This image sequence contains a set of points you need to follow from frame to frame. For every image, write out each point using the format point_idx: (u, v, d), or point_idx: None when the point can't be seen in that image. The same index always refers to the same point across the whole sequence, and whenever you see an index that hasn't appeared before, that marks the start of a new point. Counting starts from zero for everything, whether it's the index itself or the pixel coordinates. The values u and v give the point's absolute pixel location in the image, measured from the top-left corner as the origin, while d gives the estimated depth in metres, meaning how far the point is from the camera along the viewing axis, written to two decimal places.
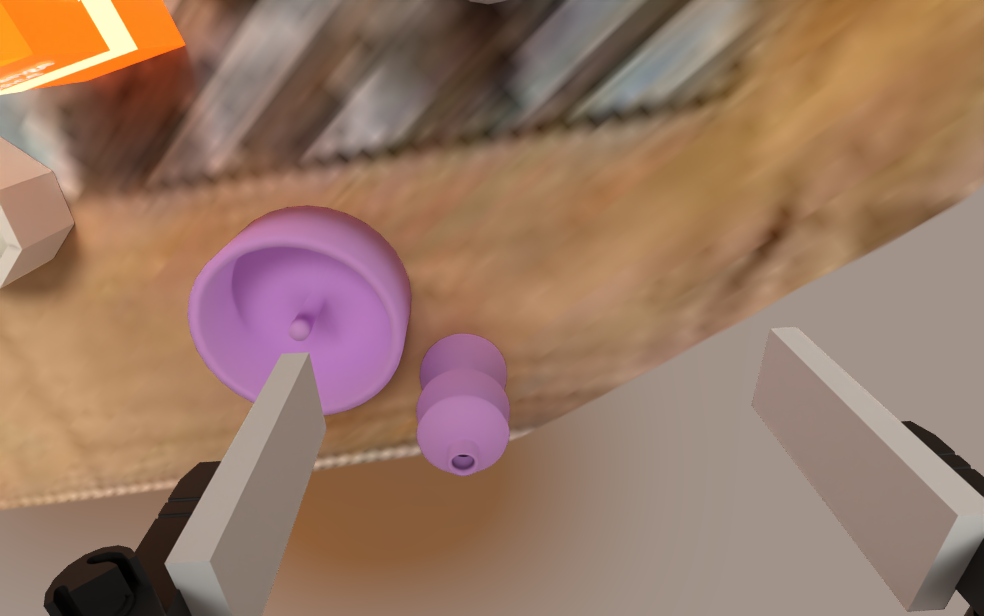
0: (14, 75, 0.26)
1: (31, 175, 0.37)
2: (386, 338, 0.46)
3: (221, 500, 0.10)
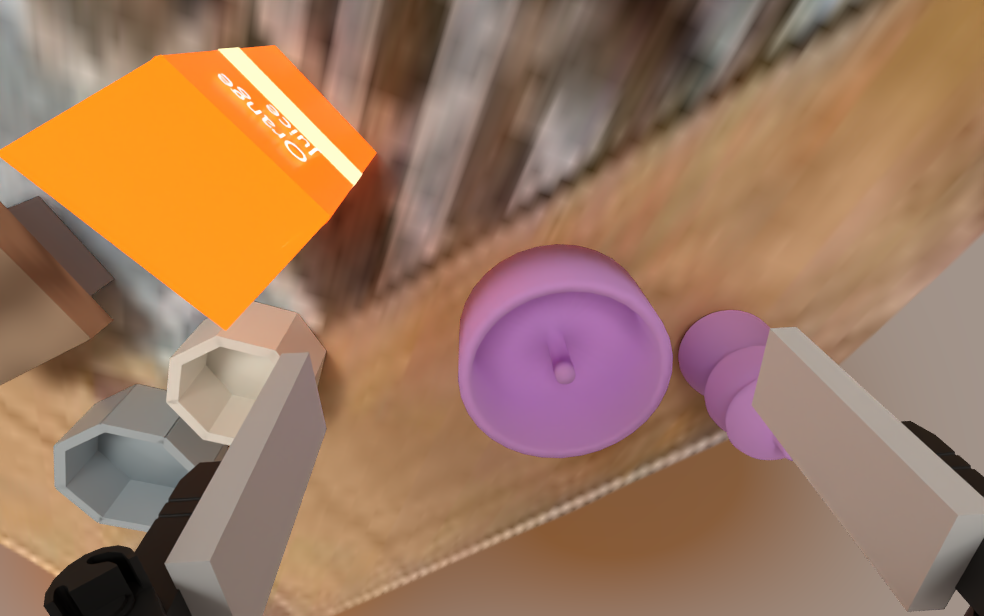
0: None
1: (287, 323, 0.40)
2: (632, 348, 0.44)
3: (221, 500, 0.10)
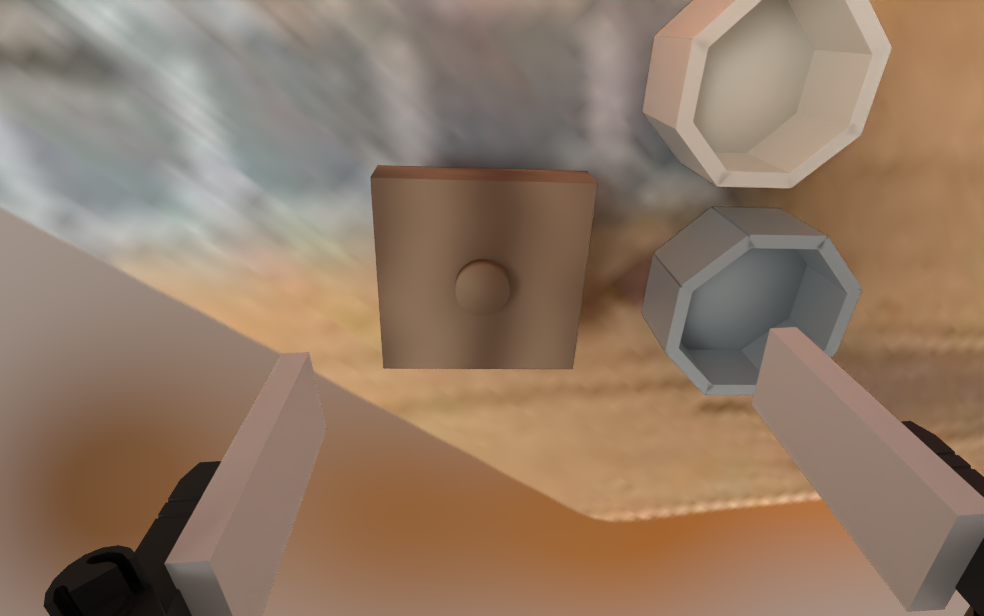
0: None
1: None
2: None
3: (221, 500, 0.10)
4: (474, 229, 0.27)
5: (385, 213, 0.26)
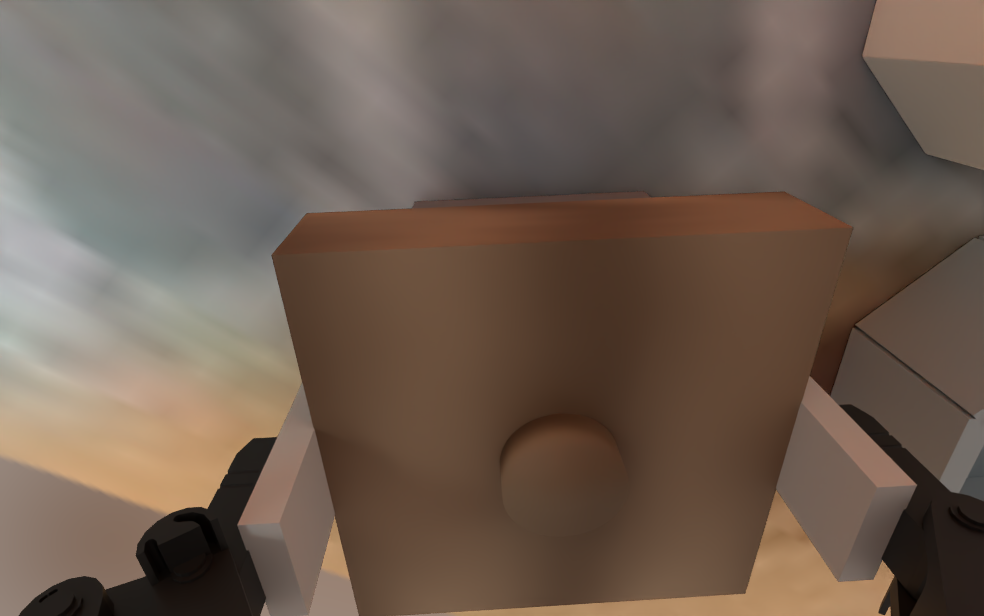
0: None
1: None
2: None
3: (282, 470, 0.11)
4: (540, 353, 0.11)
5: (322, 334, 0.11)
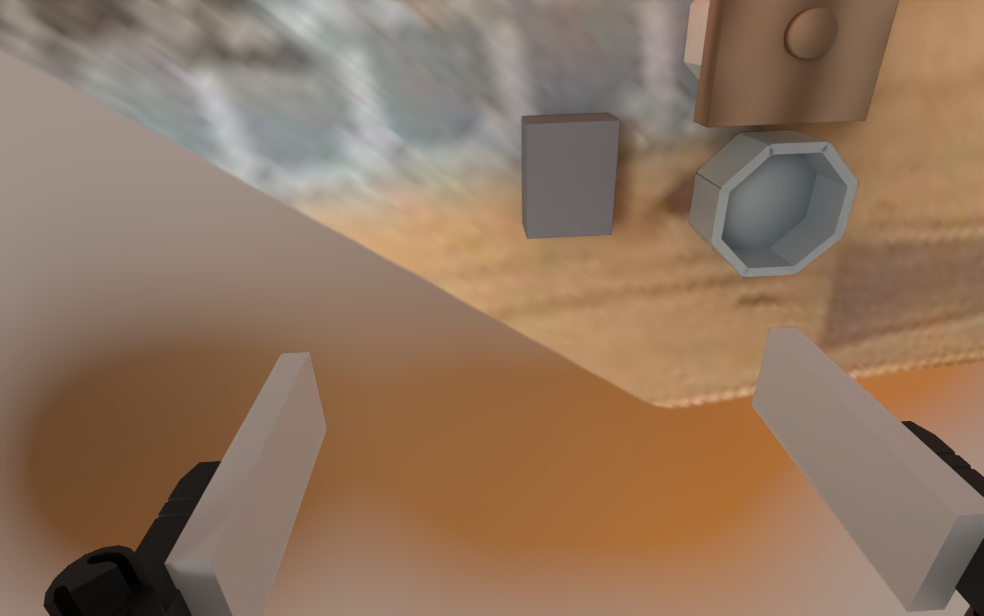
0: None
1: None
2: None
3: (221, 500, 0.10)
4: None
5: None
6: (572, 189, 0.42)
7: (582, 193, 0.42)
